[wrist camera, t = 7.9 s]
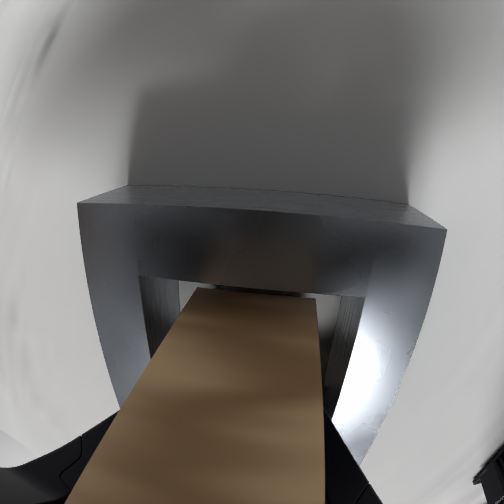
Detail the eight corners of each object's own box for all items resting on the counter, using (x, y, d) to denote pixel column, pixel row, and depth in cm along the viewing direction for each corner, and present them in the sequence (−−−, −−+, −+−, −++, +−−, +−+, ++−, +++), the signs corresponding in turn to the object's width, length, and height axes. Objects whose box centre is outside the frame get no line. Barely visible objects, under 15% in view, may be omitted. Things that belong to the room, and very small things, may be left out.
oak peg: (315, 298, 11) (319, 606, 2) (300, 385, 13) (283, 612, 3) (197, 287, 12) (46, 536, 2) (202, 374, 13) (119, 579, 4)
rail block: (408, 204, 11) (447, 229, 8) (353, 416, 15) (359, 465, 12) (127, 185, 12) (76, 203, 9) (153, 392, 16) (130, 435, 13)
